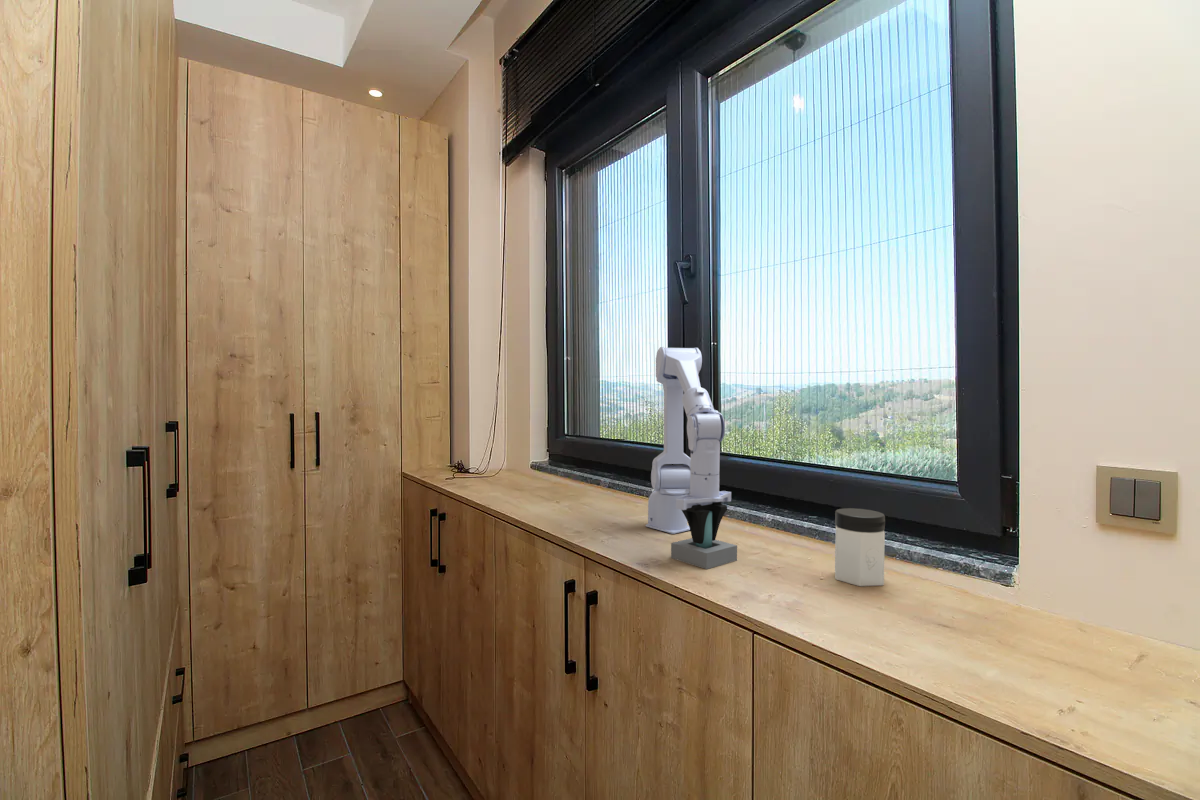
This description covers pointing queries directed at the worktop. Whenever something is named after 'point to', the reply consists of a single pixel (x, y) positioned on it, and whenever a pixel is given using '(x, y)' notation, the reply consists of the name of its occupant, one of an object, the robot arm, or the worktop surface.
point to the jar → (859, 546)
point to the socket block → (704, 553)
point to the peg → (707, 533)
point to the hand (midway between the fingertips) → (704, 541)
